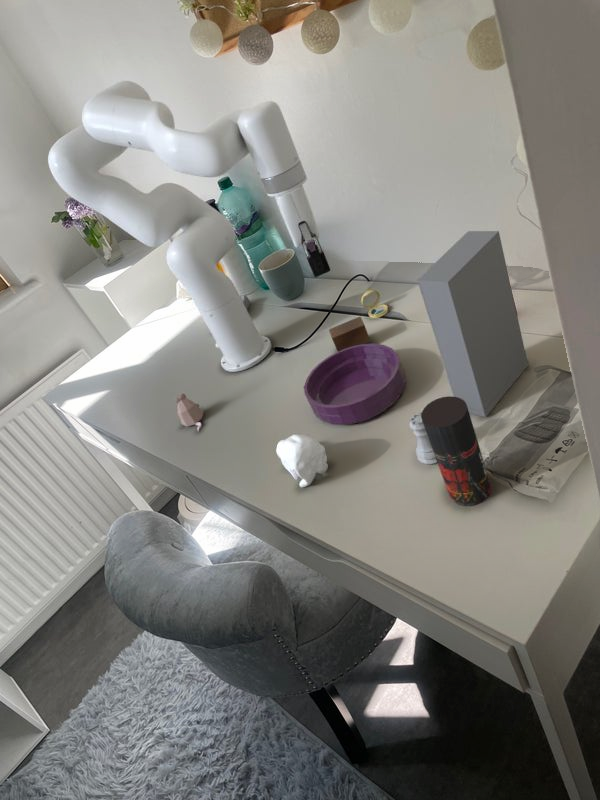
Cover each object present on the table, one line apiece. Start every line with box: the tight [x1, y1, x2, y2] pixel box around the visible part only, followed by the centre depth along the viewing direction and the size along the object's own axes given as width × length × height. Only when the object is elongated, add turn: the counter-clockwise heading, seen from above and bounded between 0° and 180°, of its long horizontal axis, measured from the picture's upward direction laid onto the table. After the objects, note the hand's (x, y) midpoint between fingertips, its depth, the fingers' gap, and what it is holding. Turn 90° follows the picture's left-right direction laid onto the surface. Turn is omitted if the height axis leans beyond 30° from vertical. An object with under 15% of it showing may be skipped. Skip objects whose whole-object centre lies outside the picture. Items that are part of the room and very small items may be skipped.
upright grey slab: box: [416, 230, 530, 418], centre depth 95 cm, size 14×6×25 cm, turn 134°
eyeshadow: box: [360, 289, 389, 319], centre depth 134 cm, size 4×5×5 cm
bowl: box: [303, 343, 407, 426], centre depth 113 cm, size 18×18×5 cm
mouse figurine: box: [174, 392, 204, 432], centre depth 128 cm, size 5×8×7 cm, turn 21°
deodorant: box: [421, 395, 492, 507], centre depth 83 cm, size 6×6×15 cm
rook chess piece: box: [408, 411, 438, 465], centre depth 93 cm, size 4×4×8 cm
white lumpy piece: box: [275, 434, 329, 488], centre depth 102 cm, size 6×8×12 cm
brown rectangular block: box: [328, 316, 373, 352], centre depth 126 cm, size 7×4×6 cm, turn 96°
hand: (318, 264), depth 117 cm, fingers open, 9 cm apart
